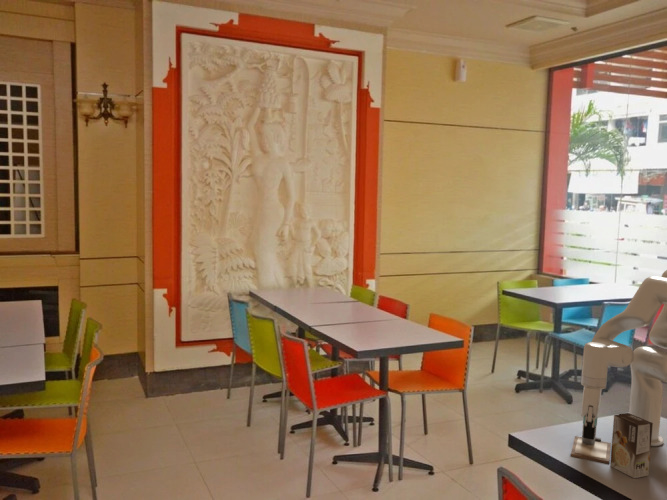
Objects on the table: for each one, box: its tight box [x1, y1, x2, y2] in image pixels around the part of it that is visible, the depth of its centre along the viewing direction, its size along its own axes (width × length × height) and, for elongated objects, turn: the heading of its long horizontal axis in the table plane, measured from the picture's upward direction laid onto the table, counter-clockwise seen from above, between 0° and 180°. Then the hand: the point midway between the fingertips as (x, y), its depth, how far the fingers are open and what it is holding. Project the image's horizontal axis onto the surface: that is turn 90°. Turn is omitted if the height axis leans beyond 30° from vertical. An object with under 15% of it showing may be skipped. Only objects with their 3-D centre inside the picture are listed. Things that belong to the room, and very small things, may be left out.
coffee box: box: [609, 412, 653, 479], centre depth 182 cm, size 9×6×16 cm
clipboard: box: [570, 435, 612, 465], centre depth 197 cm, size 16×11×2 cm
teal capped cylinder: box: [581, 415, 599, 445], centre depth 199 cm, size 4×4×9 cm
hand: (588, 435), depth 200 cm, fingers closed on teal capped cylinder, 4 cm apart
